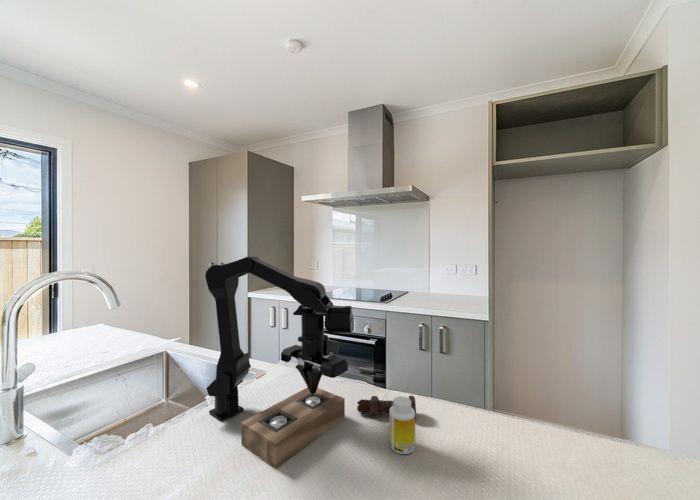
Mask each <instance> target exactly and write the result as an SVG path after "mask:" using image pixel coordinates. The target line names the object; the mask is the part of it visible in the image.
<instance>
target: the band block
mask: <svg viewBox="0 0 700 500" xmlns="http://www.w3.org/2000/svg"><path fill="white" fill-rule="evenodd" d="M313 396H315V397H319V398H320V403H318V404H316V405H315V406H311V405H308V404H306V403H305V400H306V399H307V398H309V397H313ZM345 401H346V400H345V397H342V396H339V395H337V394H334V393H331V392H330V391H327V390H325V389H322V388H319V387H318V388H317V391H316V393H314V394H312V393H310V391H309V389H308V387H307V386H306V388H304V389H302V390H299V391H298V392H296V393H294V394H292V395H290V396H289V397H287V398H284V399H282V400H281V401H280V402H277V403H274V404H273V405H272V406H269V407H268V408H265V409H264V410H262V411H261V412H260V411H259V412H258V413H256V414H255V415H253V416H251V417H249V418H247V419H245V420H243V421H241V422H240V423H241V424H240V425H241V426H240V427H241V428H240V429H241V430H240V431H241V432H240V433H241V435H240V436H241V437H240V438H241V440H240V441H241V443H240V444H241V446H243V447H244V448H245V449H247V450H248V451H250V452H251V453H253V454H254V455H255V456H256V457H258V458H259V459H260V460H262V461H264V462H265V463H267V464H268V465H269V466H271V467H272V468H273V469H275V470H276V469H278V468H280V467H281V466H283V464H285V463H286V462H287V461H289V460H291V459H292V458H293V457H294V456H296V455H297V454H298V453H299V452H301V451H302V450H303V449H305V448H306V447H308V446H309V445H310V444H311V443H313V442H314V441H316V440H317V439H318V438H319V437H321V436H322V435H324V434H325V433H326V432H328V431H329V430H331V428H333V427H335V426H336V425H337V424H338V423H340V422H341V421H343V419H345V418H346V415H345V413H346V407H345V404H346V403H345ZM276 416H284V417H286V418H287V423H285V424H284V425H282V426H280V427H279V428H277V429H276V428H274V427H273V426H271V425H270V420H271V419H272V418H273V417H276Z"/></svg>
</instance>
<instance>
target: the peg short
mask: <svg viewBox="0 0 700 500" xmlns="http://www.w3.org/2000/svg"><path fill="white" fill-rule="evenodd" d="M305 403H306V404H308V405H311V406H315V405H316V404H318V403H320V398H319V397H315V396H313V397H309V398H307V399H306V400H305Z"/></svg>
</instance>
